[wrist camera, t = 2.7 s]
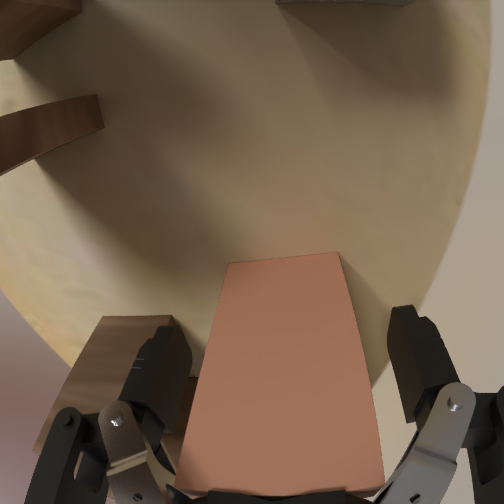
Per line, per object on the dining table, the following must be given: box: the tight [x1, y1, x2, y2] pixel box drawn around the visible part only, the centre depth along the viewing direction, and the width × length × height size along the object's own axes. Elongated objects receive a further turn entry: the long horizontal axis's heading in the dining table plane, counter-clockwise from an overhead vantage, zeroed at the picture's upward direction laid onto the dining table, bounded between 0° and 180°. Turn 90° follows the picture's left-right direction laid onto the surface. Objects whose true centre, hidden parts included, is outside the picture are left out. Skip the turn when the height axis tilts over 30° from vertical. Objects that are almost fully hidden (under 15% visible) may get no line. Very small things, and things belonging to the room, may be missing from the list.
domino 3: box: [32, 315, 175, 489], centre depth 13 cm, size 2×5×10 cm, turn 100°
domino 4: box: [107, 377, 199, 499], centre depth 16 cm, size 2×5×10 cm, turn 100°
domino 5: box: [173, 252, 385, 501], centre depth 10 cm, size 2×5×10 cm, turn 100°
